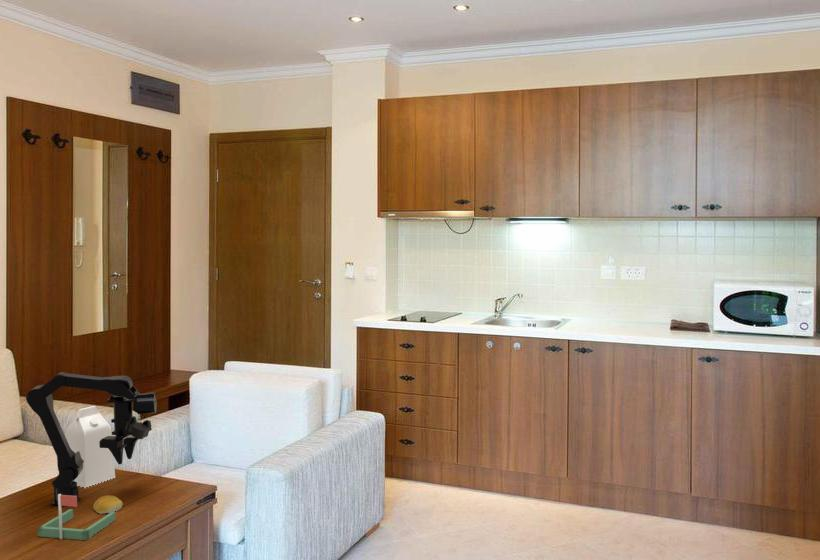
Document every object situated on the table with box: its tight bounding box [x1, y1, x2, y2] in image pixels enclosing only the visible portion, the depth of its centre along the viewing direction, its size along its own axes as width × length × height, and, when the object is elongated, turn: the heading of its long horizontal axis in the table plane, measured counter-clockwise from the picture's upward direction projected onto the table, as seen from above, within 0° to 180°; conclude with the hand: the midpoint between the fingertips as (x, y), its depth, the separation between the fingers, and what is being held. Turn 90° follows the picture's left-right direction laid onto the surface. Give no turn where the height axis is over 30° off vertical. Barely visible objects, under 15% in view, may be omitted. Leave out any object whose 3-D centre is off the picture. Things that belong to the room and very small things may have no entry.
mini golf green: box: [37, 494, 116, 541], centre depth 210 cm, size 15×15×13 cm
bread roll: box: [92, 494, 123, 515], centre depth 225 cm, size 8×9×4 cm
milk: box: [65, 405, 116, 489], centre depth 251 cm, size 12×12×26 cm
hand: (124, 461), depth 234 cm, fingers open, 5 cm apart
